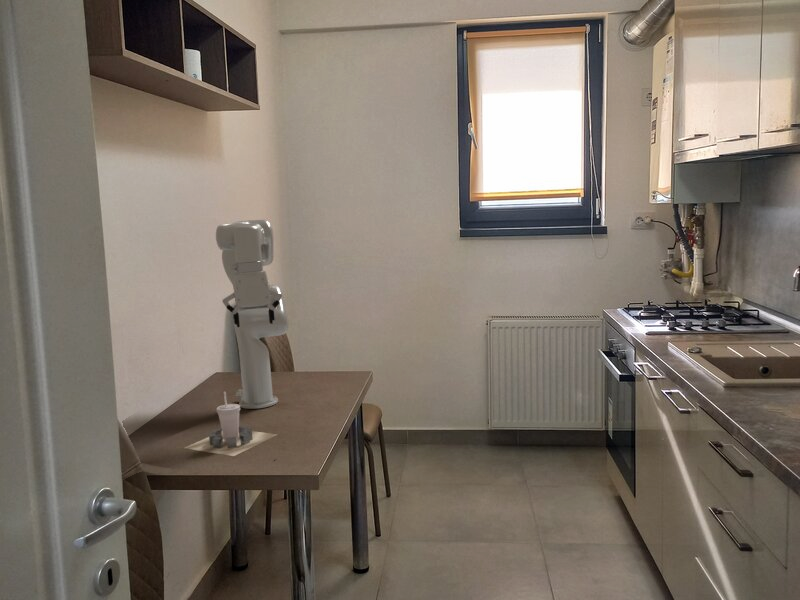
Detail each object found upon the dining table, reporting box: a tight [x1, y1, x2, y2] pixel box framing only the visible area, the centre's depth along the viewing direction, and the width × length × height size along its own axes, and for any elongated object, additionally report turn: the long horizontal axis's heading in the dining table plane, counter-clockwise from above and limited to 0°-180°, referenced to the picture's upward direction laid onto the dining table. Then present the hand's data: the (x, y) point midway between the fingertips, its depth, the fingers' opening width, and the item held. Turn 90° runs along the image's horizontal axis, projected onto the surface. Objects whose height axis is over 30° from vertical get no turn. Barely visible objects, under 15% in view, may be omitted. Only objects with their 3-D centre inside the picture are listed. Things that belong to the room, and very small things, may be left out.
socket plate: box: [184, 430, 278, 457], centre depth 205 cm, size 18×18×2 cm
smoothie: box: [216, 391, 241, 443], centre depth 204 cm, size 6×6×14 cm
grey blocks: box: [208, 425, 253, 448], centre depth 205 cm, size 11×11×2 cm
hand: (254, 324), depth 222 cm, fingers open, 9 cm apart
